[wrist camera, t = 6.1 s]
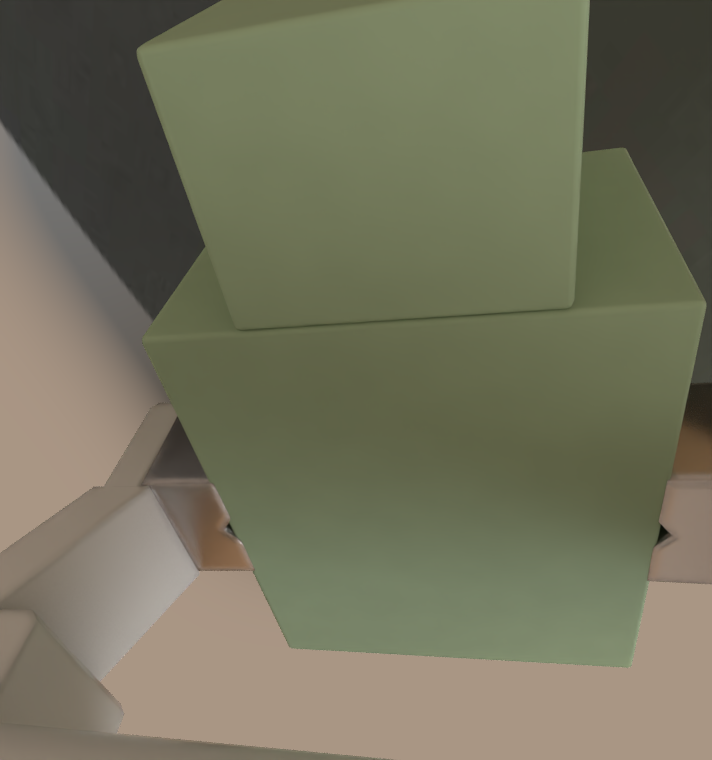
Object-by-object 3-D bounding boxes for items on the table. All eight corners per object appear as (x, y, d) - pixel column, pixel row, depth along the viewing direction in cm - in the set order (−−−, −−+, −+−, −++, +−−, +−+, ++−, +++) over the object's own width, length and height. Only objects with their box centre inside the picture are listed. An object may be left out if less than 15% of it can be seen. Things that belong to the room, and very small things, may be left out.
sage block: (328, 479, 12) (288, 649, 10) (180, -8, 7) (7, 71, 4) (594, 477, 11) (632, 669, 8) (649, -103, 6) (789, -74, 3)
